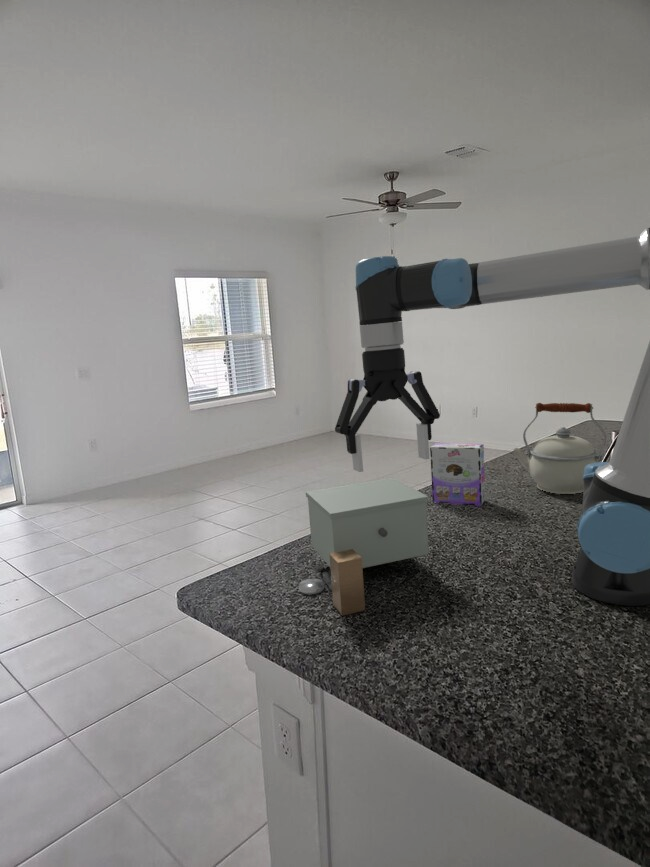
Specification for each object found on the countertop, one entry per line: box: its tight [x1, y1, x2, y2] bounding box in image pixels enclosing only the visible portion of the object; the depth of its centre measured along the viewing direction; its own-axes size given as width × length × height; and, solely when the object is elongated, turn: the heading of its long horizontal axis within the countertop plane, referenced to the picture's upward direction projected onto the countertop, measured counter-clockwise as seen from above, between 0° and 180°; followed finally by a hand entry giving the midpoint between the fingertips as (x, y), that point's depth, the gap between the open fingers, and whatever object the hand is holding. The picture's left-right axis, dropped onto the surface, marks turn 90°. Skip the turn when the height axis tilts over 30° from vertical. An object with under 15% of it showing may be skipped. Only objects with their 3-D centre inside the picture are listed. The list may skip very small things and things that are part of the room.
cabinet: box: [305, 477, 430, 569], centre depth 115 cm, size 18×21×16 cm
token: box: [298, 578, 325, 595], centre depth 109 cm, size 5×5×1 cm
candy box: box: [429, 442, 486, 507], centre depth 154 cm, size 14×6×16 cm, turn 63°
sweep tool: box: [322, 549, 366, 617], centre depth 105 cm, size 15×4×10 cm, turn 19°
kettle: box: [512, 402, 607, 495], centre depth 159 cm, size 25×18×25 cm
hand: (391, 464), depth 102 cm, fingers open, 13 cm apart
